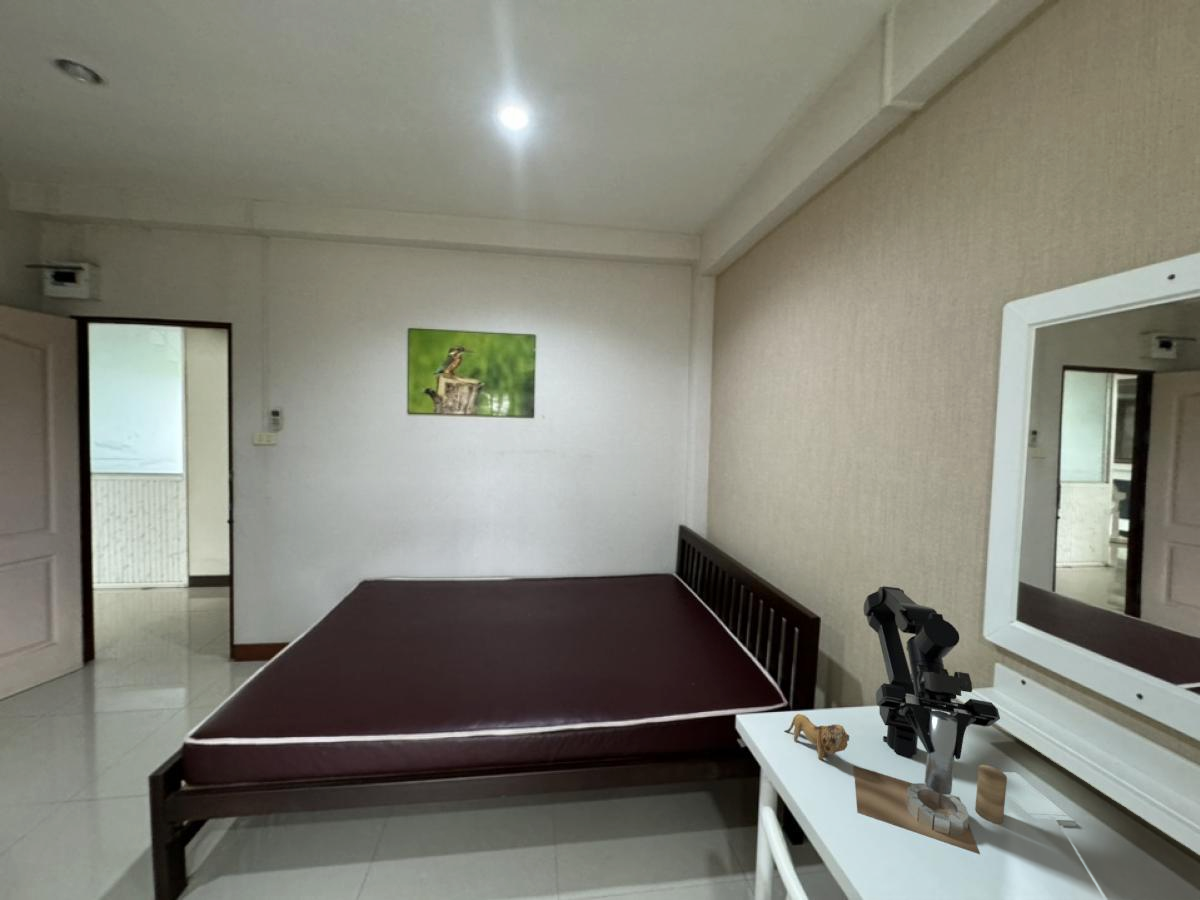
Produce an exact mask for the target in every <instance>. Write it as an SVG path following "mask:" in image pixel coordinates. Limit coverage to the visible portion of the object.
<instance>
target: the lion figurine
mask: <svg viewBox="0 0 1200 900" xmlns="http://www.w3.org/2000/svg"><path fill="white" fill-rule="evenodd" d="M793 727H794V730H793V734H794V735H793V741H794V743H795V744H798V740H799V739H798V738H799V736H800V734H801V732H803V733H804V736H805V737H806V739H808V741H809V742H811V743H812V744H813V745H814V746H816V748H817V759H818V760H819V761H824V756H825V757H827V756H828V755H829V754H830V755H834V754H835V753H837V752H839V753H840V752H843V751H845V750H846V749H847V747H848V742H849V741H850V735H849V733H847V732H846V730H845V728H844V726H842V725H840V724H836V723H835V724H831V725H829V724H828V725H819V726H817V725H816V724H814V723H813V722H812V721H811V720H810V719H809V718H808V716H806V715H805V714H802V713H801V714H800V713H796V714H795V715H794V716H793V719H792V722H791V725H790V726H789V727H788V729H786V730H783V732H784V733H790V732H791V731H792V729H793Z"/></svg>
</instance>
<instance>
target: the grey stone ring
mask: <svg viewBox="0 0 1200 900" xmlns="http://www.w3.org/2000/svg"><path fill="white" fill-rule="evenodd" d="M954 796H955V795H953V794H948V795H944V794H940V793H937V792H935V791H933V790H932V789H930V788H929V787H928V786H927V785H926V784H925V782H924V783H923V782H922V783H920V782H919V783H913V784H912V785H910V786H909V787H908V788H907V796H906V804H907V808H908V811H909V812H910V813H911V814H912V815H913V816H914V817H915V818H916V820H918V821H919V822H920V823H922V824H924V825H925V826H927V827H928V828H930V829H932V830H934V831H936V832H939V833H942V834H945V835H948V836H949V835H950V836H962V835H963V834H964V833H965V832H966V831H967V830H968V823H969V817H970V815H969V812H968V809H967V807H966V805H964V803H962V802H960V801H961V800H960V801H959V800H958V799H957V798H956V797H957V796H956V797H954ZM922 802H929V803H932V804H935V805H938V806H940V807H942V808H943V809H945V810H947V811H948V812H949V813H950V814H951V815H945V814H941V813H938V812H935V811H933V810H932V809H930V808H928V807H927V806H925V805H924V804H923V803H922Z"/></svg>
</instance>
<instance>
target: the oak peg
mask: <svg viewBox="0 0 1200 900" xmlns="http://www.w3.org/2000/svg"><path fill="white" fill-rule="evenodd" d="M977 771H978V772H977V785H976V796H975V797H976V798H975V807H974V810H975V812H976V814H977V815H978V816H979V817H981V818H982V819H984V820H985V821H987V822H990V823H992V824H996V825H997V824H998V825H1000V824H1003V823H1004V817H1005V816H1004V814H1005V804H1006V795H1007V794H1006V783H1007V777H1006V775H1005V774H1004V773H1003V772H1004V771H1001V770H1000V769H999V768H996V767H993V766H992V765H991V766H990V765H986V764H981V765H979V766H978V770H977Z"/></svg>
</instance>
